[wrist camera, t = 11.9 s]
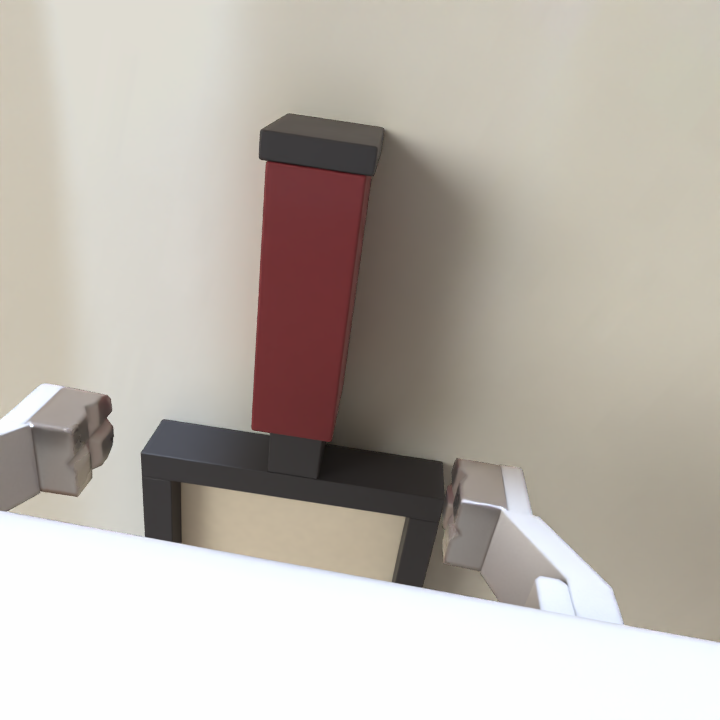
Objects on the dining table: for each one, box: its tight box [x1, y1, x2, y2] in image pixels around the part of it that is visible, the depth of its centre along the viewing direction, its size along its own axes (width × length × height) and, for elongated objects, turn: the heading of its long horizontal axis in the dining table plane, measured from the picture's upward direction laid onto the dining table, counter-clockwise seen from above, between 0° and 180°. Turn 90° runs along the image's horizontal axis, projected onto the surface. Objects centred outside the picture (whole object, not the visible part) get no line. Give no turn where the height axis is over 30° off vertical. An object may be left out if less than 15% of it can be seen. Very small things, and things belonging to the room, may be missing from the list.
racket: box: [141, 114, 445, 588], centre depth 24 cm, size 24×12×4 cm, turn 173°
